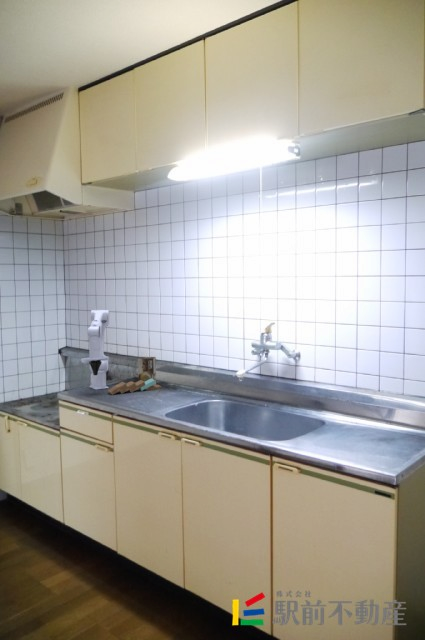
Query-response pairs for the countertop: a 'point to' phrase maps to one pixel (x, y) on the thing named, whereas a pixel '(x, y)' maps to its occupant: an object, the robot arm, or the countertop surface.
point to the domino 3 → (137, 386)
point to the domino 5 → (153, 387)
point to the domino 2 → (128, 387)
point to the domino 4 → (148, 384)
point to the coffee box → (147, 368)
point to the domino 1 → (117, 388)
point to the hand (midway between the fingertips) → (95, 375)
